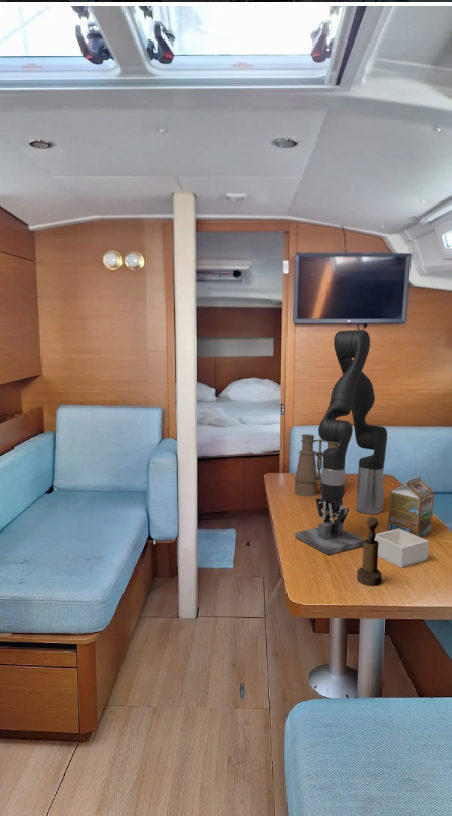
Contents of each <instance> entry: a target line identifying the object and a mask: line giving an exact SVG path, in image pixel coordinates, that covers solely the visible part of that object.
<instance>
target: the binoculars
mask: <svg viewBox="0 0 452 816" xmlns="http://www.w3.org/2000/svg"><path fill="white" fill-rule="evenodd" d="M301 437H302V439H301V443H302V445H301V450H300V451H298V452H297V454H299V457H298V460H297V461H298V463H297V468H296V472H295V473H296V474H295V477H294V478H293V479H294V481H295V482H294V483H295V484H294V494H295V495H297V496H299V497H307V496H308V497H314V496H317V486H318V485H317V484H318V483H320V488H319V494H320V495H321V469H322V467H323V452H324V451H322V442H325V443H327V449H329V448H337V447H338V446H339V442H332V441H324V440H322V439H321V438H319V439H315V435H314V434H308V433H307V434H305V433H304V434H301ZM315 442H318V451H314V443H315ZM316 457H317V458H316ZM316 460H317V462H316Z"/></svg>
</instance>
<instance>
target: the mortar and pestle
mask: <svg viewBox="0 0 452 816" xmlns="http://www.w3.org/2000/svg"><path fill="white" fill-rule="evenodd" d="M366 524H367V527H368V529H369V530H368V532H367V533H366V534H367V539H366V538H365V540H364V544H363V546H362V547H363V550H362V551H363V552H362V566H361V567H359V568H358V569H357V572H356V573H357V574H356V575H357V576H356V580H357V581H358V583H359V584H363V585H366V586H372V587H373V586H379V585H380V584H381V583H382V579H383V578H382V575H383V574H382V572H381V571H380V570H379V569H378V563H379V562H378V558H379V557H378V545H379V542H378V541H376V540H374V539H375V537H376V534H377V533H376V529H377V527H378V526H379V520H378V518H376V517H374V516H369V517H368V518H367V520H366Z"/></svg>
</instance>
